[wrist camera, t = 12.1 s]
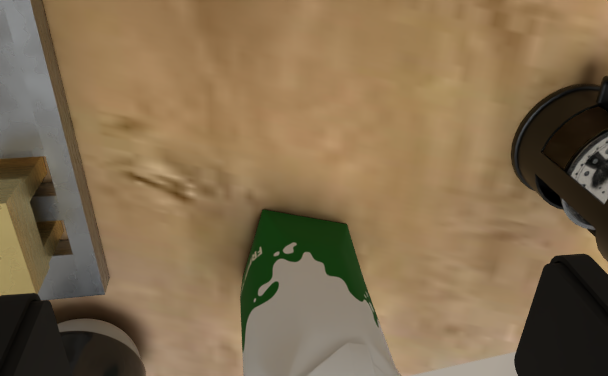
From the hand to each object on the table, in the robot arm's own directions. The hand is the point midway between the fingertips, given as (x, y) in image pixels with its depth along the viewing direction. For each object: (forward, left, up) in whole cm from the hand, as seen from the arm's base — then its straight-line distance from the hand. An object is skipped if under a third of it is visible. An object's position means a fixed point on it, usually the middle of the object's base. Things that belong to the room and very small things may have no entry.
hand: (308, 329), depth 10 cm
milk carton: (+19, +3, -28) cm, 34 cm away
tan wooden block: (+12, -16, -28) cm, 34 cm away
